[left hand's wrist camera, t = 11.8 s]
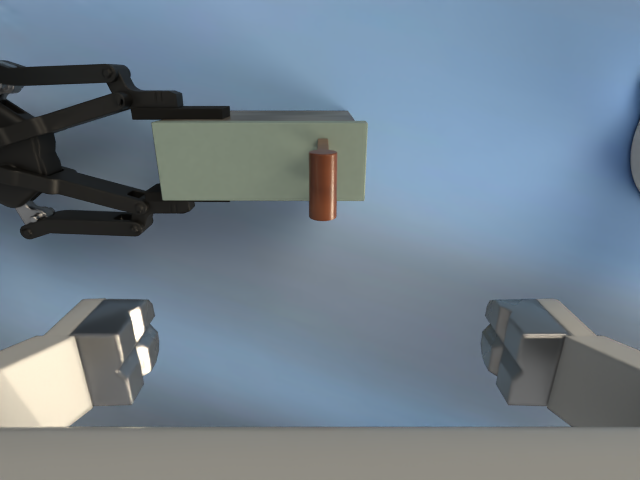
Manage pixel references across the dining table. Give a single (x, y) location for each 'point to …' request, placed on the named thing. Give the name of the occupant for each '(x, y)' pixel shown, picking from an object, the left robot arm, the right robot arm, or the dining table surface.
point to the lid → (263, 161)
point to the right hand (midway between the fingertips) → (228, 153)
